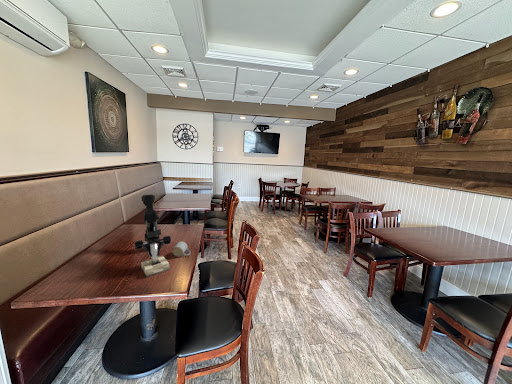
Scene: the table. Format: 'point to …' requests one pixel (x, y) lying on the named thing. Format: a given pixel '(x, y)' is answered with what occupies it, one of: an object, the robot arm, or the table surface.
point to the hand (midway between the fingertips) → (154, 256)
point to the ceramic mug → (181, 249)
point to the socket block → (155, 266)
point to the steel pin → (154, 253)
